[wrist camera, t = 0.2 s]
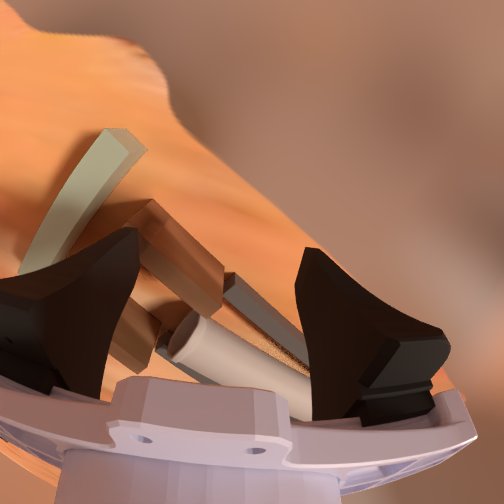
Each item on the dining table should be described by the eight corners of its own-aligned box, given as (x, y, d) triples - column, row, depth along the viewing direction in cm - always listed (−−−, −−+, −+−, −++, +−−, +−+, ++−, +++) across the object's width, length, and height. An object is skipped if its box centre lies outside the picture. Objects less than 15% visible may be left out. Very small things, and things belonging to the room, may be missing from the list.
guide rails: (305, 429, 34) (307, 440, 32) (158, 338, 26) (154, 351, 25) (369, 390, 32) (374, 401, 30) (235, 272, 24) (235, 283, 22)
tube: (375, 414, 29) (204, 319, 21) (347, 445, 28) (166, 369, 21) (353, 393, 34) (197, 298, 26) (327, 422, 33) (165, 341, 26)
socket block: (152, 330, 26) (137, 374, 20) (89, 276, 23) (59, 312, 18) (224, 266, 24) (222, 306, 18) (153, 198, 21) (126, 220, 16)
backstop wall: (56, 271, 23) (35, 291, 19) (40, 254, 22) (17, 272, 19) (147, 149, 20) (129, 152, 16) (126, 128, 19) (105, 128, 15)
